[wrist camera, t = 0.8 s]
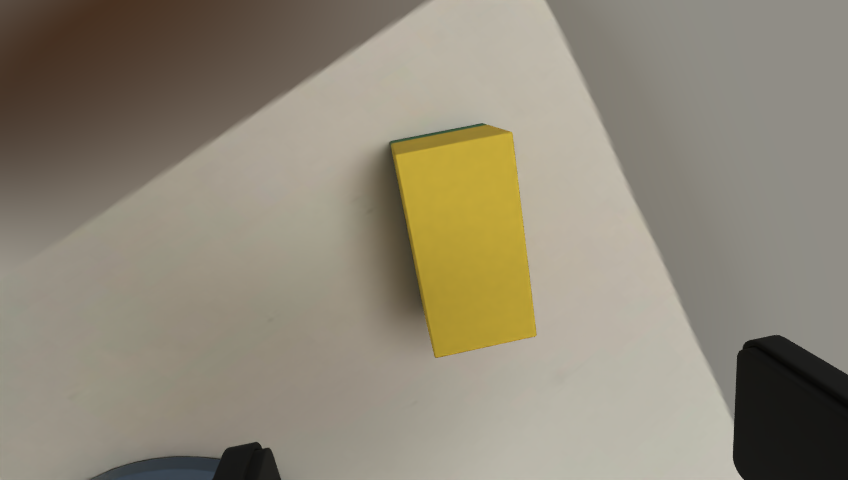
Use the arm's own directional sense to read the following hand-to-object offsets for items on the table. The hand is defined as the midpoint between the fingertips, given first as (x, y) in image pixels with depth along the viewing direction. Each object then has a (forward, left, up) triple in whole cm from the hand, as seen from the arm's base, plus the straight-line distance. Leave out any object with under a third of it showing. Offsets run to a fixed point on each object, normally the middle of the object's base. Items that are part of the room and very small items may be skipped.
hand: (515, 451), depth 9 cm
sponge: (0, +1, -16) cm, 16 cm away
